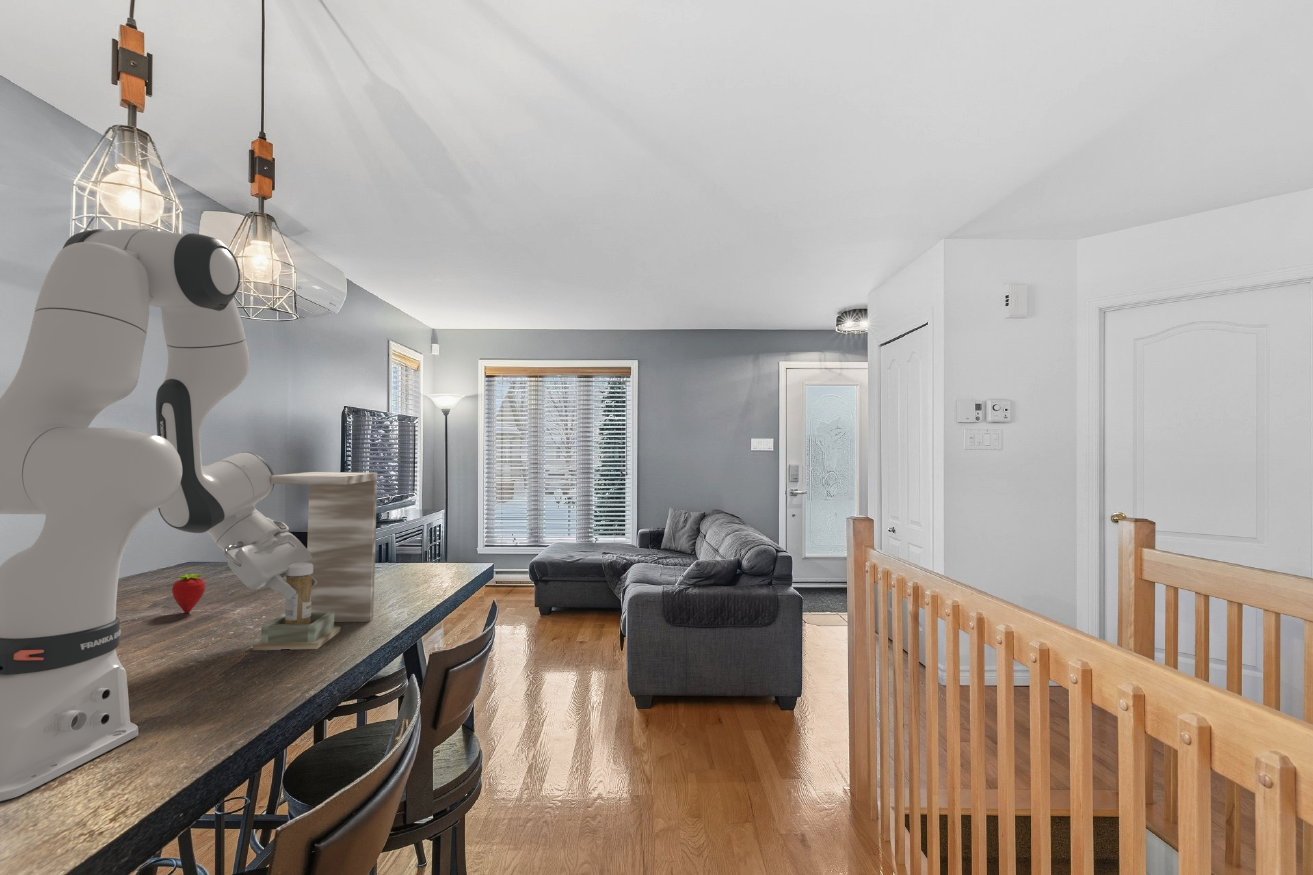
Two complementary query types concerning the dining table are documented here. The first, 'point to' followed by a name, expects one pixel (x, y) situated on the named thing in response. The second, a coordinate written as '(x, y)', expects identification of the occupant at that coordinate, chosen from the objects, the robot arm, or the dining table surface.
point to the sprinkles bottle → (299, 594)
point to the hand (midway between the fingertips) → (304, 590)
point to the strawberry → (188, 591)
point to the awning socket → (333, 558)
